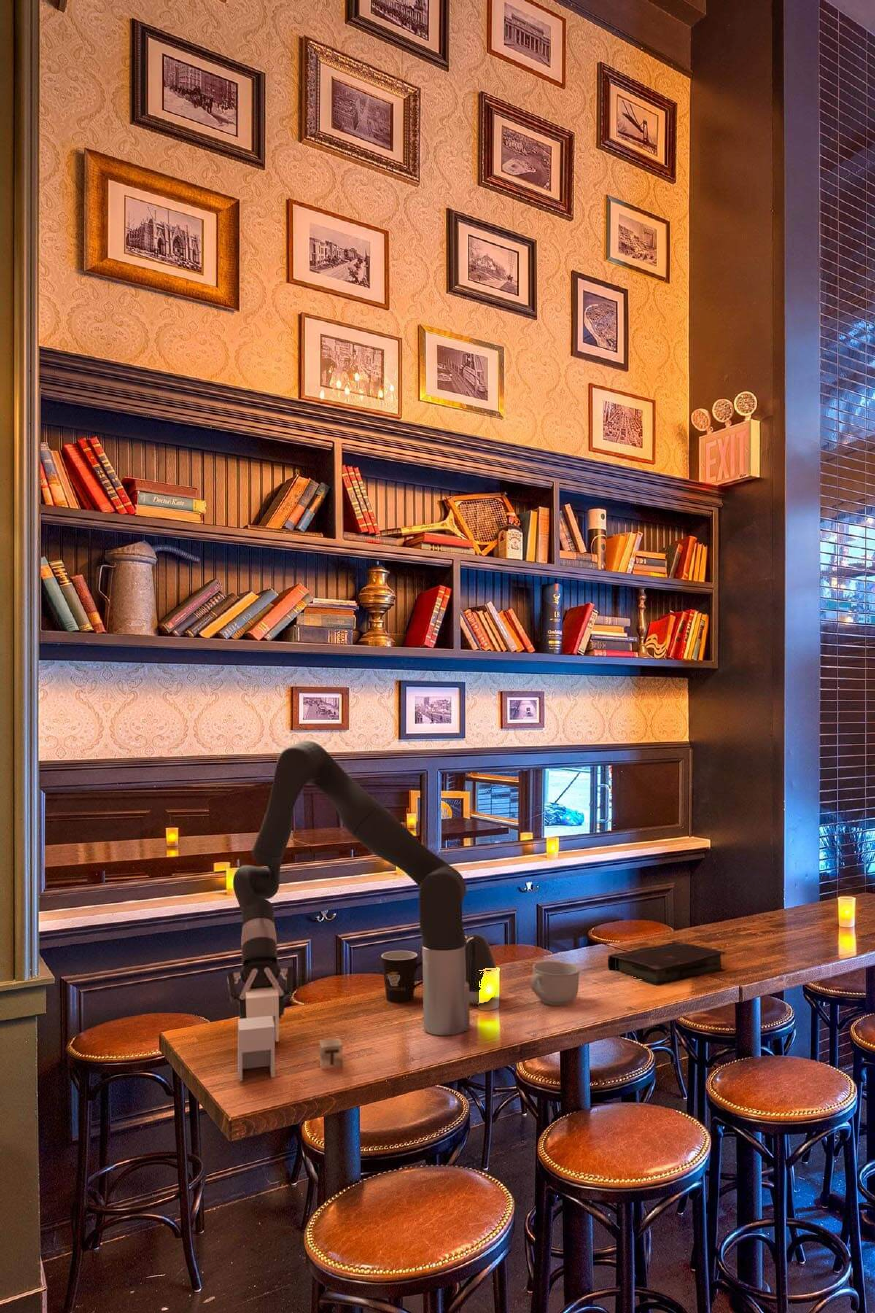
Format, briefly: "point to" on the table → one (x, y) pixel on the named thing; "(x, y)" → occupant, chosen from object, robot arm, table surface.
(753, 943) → the table surface
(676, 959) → the diary
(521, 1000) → the table surface
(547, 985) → the teacup
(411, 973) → the coffee mug
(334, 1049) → the letter cube
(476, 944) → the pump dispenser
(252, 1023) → the grey cover
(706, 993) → the table surface
